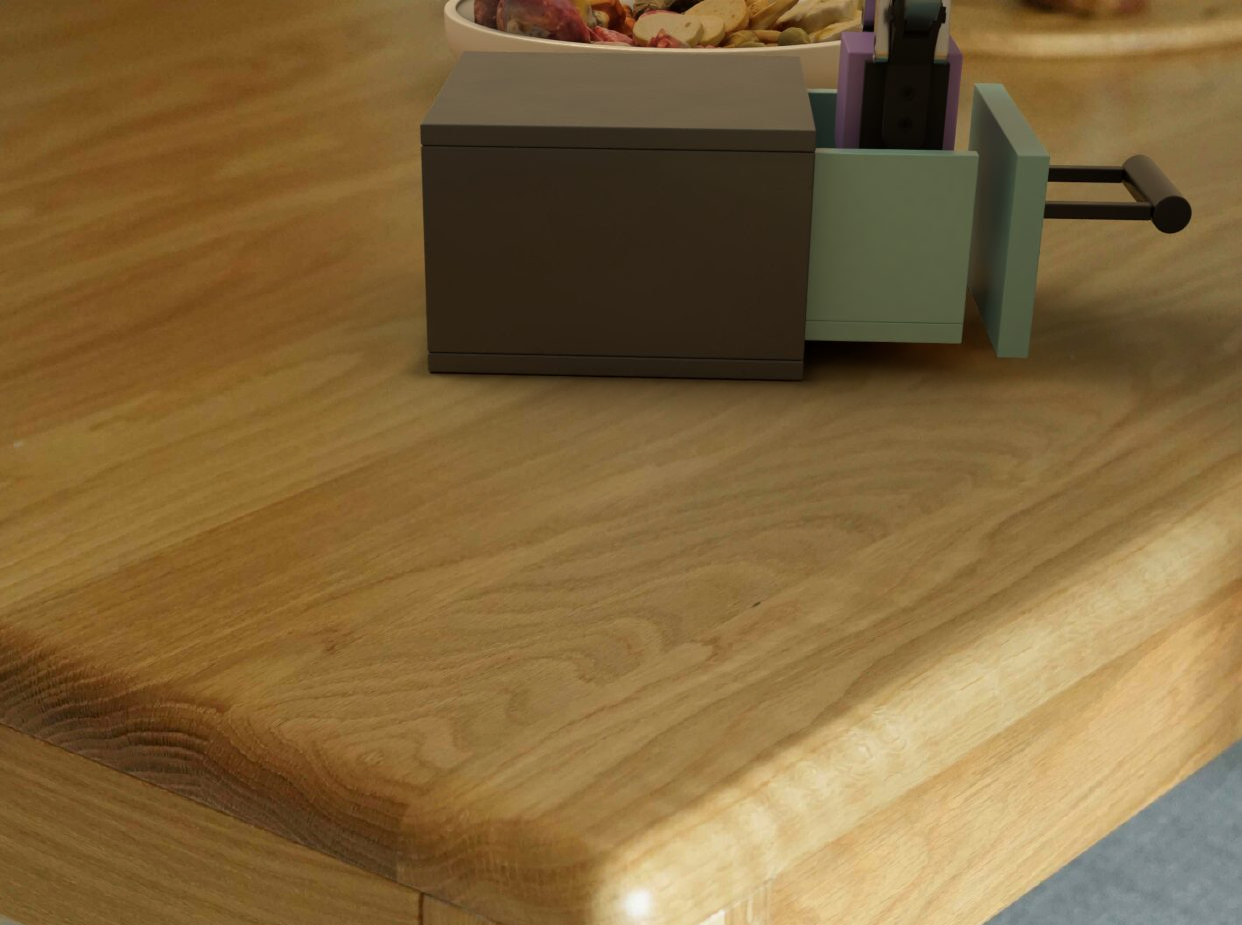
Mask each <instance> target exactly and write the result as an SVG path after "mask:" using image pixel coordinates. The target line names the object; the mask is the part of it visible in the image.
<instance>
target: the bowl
mask: <svg viewBox="0 0 1242 925" xmlns="http://www.w3.org/2000/svg"><path fill="white" fill-rule="evenodd" d="M862 4H863V0H448V1H447V2H446V3H445V5H444V8H443V16H444V31H445V38H446V41H447V45H448V47H449V50H450V53H451V54H452V56H453V58H454V60H455V62H456V63H457V61H458V59H459V58H460V56H461V54H462V52H464V51H483V52H549V53H614V54H679V55H745V56H799V57H800V60H801V64H802V69H803V73H804V78H805V82H806V87H807V89H837V88H838V74H839V59H840V44H841V33H842V32H861V15H862Z"/></svg>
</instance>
